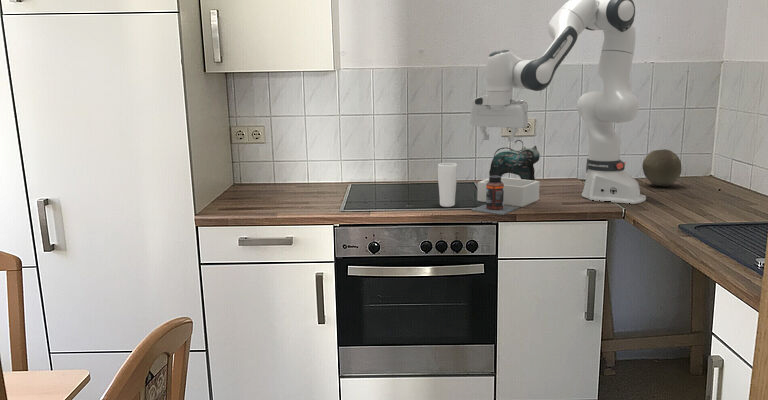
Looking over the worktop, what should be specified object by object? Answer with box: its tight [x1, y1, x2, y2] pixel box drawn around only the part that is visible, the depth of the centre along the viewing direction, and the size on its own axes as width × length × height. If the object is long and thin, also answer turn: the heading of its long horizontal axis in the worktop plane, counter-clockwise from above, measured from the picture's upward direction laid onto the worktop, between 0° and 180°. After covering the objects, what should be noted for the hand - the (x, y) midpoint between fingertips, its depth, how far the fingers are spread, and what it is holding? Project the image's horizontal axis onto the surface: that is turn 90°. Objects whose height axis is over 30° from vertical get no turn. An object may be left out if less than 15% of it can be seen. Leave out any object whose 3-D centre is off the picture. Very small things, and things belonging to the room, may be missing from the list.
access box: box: [476, 176, 541, 208], centre depth 228 cm, size 18×14×7 cm
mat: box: [471, 203, 520, 216], centre depth 214 cm, size 12×12×1 cm
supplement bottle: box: [485, 175, 504, 210], centre depth 213 cm, size 6×6×11 cm
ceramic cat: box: [488, 139, 541, 181], centre depth 247 cm, size 20×6×20 cm, turn 54°
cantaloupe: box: [642, 149, 683, 187], centre depth 248 cm, size 14×14×15 cm
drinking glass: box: [437, 162, 458, 208], centre depth 220 cm, size 7×7×15 cm
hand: (498, 140), depth 212 cm, fingers open, 8 cm apart
